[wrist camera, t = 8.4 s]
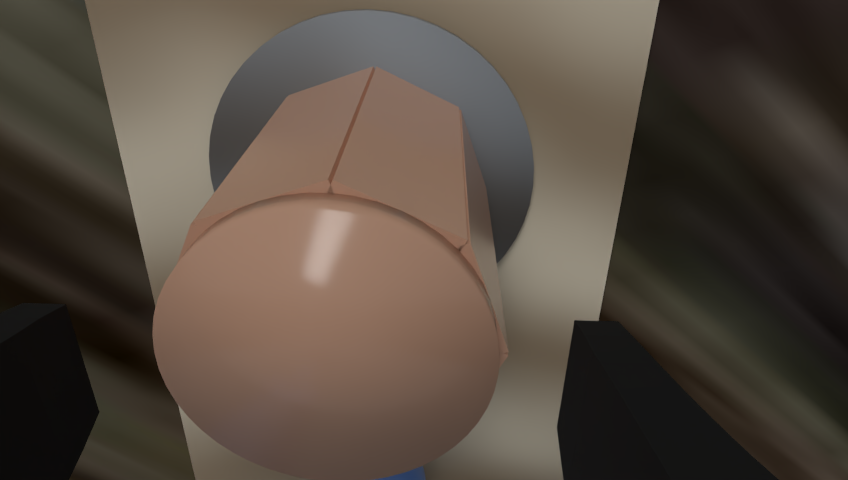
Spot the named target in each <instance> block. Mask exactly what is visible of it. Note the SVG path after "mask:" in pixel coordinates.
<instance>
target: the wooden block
mask: <svg viewBox="0 0 848 480" xmlns="http://www.w3.org/2000/svg"><path fill="white" fill-rule="evenodd" d="M153 344H154V352H155V356H156V360H157V364H158V367H159V370H160V373H161V375H162V377H163V380H164V382H165V384H166V386H167V388H168V390H169V391H170V393H171V395H172V396H173V398H174V399H175V401H176V403H177V404H178V405H179V406H180V408H181V409H182V410H183V411H184V413H185V414H186V415H187V416H188V417H189V418H190V419H191V420H192V421H193V422H194V423H195V424H196V425H197V426H198V427H199V428H200V429H201V430H202V431H203V432H204V433H206V434H207V435H208V436H209V437H211V438H212V439H213V440H215V441H216V442H217V443H219V444H220V445H222V446H223V447H225V448H227V449H228V450H230V451H231V452H233V453H235V454H237V455H239V456H240V457H242V458H244V459H246V460H248V461H250V462H253V463H255V464H258V465H260V466H263V467H265V468H268V469H270V470H274V471H277V472H280V473H284V474H287V475H291V476H296V477H301V478H306V479H313V480H373V479H379V478H385V477H390V476H393V475H397V474H401V473H405V472H407V471H410V470H413V469H415V468H418V467H421V466H423V465H425V464H427V463H429V462H431V461H433V460H435V459H437V458H439V457H440V456H442V455H443V454H445V453H446V452H448V451H449V450H451V449H452V448H453V447H455V446H456V445H457V444H458V443H459V442H460V441H462V440H463V439H464V438H465V437H466V436H467V435H468V434H469V433H470V432H471V430H472V429H473V428H474V427H475V426H476V425H477V423H478V422H479V421H480V419H481V417H482V416H483V414H484V413H485V411H486V410H487V408H488V406H489V403H490V401H491V399H492V396H493V394H494V391H495V387H496V383H497V379H498V374H499V368H500V367H501V365H502V364H503V362H504V361H505V360H506V358H507V357H508V352H509V350H508V343H507V335H506V328H505V321H504V314H503V306H502V299H501V292H500V284H499V277H498V270H497V263H496V255H495V248H494V241H493V233H492V226H491V219H490V212H489V204H488V197H487V190H486V186H485V183H484V179H483V176H482V173H481V170H480V167H479V164H478V161H477V158H476V154H475V151H474V148H473V145H472V142H471V139H470V136H469V133H468V130H467V126H466V123H465V120H464V117H463V114H462V111H461V110H459V107H458V106H456V105H454V104H452V103H450V102H447V101H445V100H443V99H441V98H439V97H437V96H435V95H433V94H431V93H429V92H427V91H425V90H423V89H421V88H419V87H417V86H415V85H413V84H411V83H409V82H407V81H405V80H403V79H401V78H399V77H397V76H395V75H393V74H391V73H389V72H387V71H385V70H383V69H381V68H379V67H377V66H376V68H375V69H374V67H373V66H372V67H369V68H367V69H364V70H361V71H358V72H355V73H352V74H349V75H346V76H343V77H340V78H337V79H334V80H332V81H329V82H326V83H323V84H320V85H317V86H314V87H311V88H308V89H305V90H302V91H299V92H297V93H294V94H291V95H288V97H286V99H285V100H284V101H283V103H282V104H281V105H280V107H279V108H278V109H277V111H276V112H275V113H274V114H273V116H272V117H271V118H270V120H269V121H268V122H267V124H266V125H265V126H264V128H263V129H262V130H261V132H260V133H259V134H258V136H257V137H256V138H255V140H254V141H253V142H252V144H251V145H250V146H249V148H248V149H247V150H246V151H245V153H244V154H243V155H242V157H241V158H240V159H239V161H238V162H237V163H236V165H235V166H234V167H233V169H232V170H231V171H230V173H229V174H228V175H227V177H226V178H225V179H224V181H223V182H222V183H221V185H220V186H219V187H218V189H217V190H216V191H215V192H214V194H213V195H212V196H211V198H210V199H209V200H208V202H207V203H206V204H205V206H204V207H203V208H202V210H201V211H200V212H199V214H198V215H197V216H196V218H195V219H194V220H193V222H192V223H191V225H190V227H189V230H188V233H187V236H186V239H185V242H184V245H183V248H182V250H181V253H180V256H179V259H178V262H177V265H176V266H175V268H174V269H173V271H172V272H171V274H170V275H169V277H168V278H167V280H166V281H165V284H164V286H163V288H162V290H161V293H160V295H159V297H158V300H157V304H156V308H155V313H154V318H153Z"/></svg>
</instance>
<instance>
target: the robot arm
mask: <svg viewBox="0 0 848 480" xmlns="http://www.w3.org/2000/svg"><path fill="white" fill-rule="evenodd" d="M98 414H99V410H98V407H97V403H96V400H95V397H94V394H93V390H92V387H91V384H90V381H89V378H88V374H87V371H86V368H85V365H84V362H83V358H82V355H81V352H80V349H79V345H78V342H77V339H76V336H75V333H74V329H73V326H72V323H71V320H70V317H69V313H68V310H67V307H66V304H34V303H23V304H20V305H18V306H16V307H13V308H11V309H9V310H6V311H4V312H2V313H0V480H69V478H70V476H71V474H72V472H73V470H74V468H75V466H76V463H77V461H78V459H79V457H80V455H81V453H82V451H83V449H84V446H85V444H86V442H87V439H88V437H89V435H90V432H91V430H92V428H93V425H94V423H95V421H96V418H97V416H98ZM557 433H558V441H559V449H560V457H561V465H562V472H563V479H564V480H778V479H777V478H776V477H775V476H774V475H773V474H771V473H770V472H769V471H768V470H767V469H766V468H765V467H764V466H762V465H761V464H760V463H759V462H758V461H757V460H756V459H755V458H753V457H752V456H751V455H750V454H749V453H748V452H747V451H746V450H745V449H744V448H743V447H742V446H741V445H740V444H738V443H737V442H736V441H735V440H734V439H733V438H732V437H731V436H730V435H729V434H728V433H727V432H726V431H725V430H724V429H723V428H722V427H721V426H720V425H719V424H717V423H716V422H715V421H714V420H713V419H712V418H711V417H710V416H709V415H708V414H707V413H706V412H705V411H704V410H703V409H702V408H701V407H700V406H699V405H698V404H697V403H696V402H695V401H694V400H693V399H692V398H691V397H690V396H689V395H688V394H687V393H686V392H685V391H684V390H683V389H682V388H681V387H680V386H679V385H678V384H677V382H676V381H675V380H674V379H673V378H672V377H671V376H670V375H669V374H668V373H667V372H666V371H665V370H664V369H663V368H662V367H661V366H660V365H659V364H658V363H657V362H656V361H655V360H654V358H653V357H652V356H651V355H650V354H649V353H648V352H647V351H646V350H645V349H644V348H643V347H642V346H641V345H640V344H639V343H638V342H637V340H636V339H635V338H634V337H633V336H632V335H631V334H630V333H629V332H628V331H627V330H626V329H625V328H624V327H623V326H622V325H621V324H620V323H619V322H616V321H583V320H574V326H573V332H572V338H571V344H570V350H569V356H568V362H567V368H566V374H565V380H564V387H563V393H562V399H561V405H560V411H559V417H558V423H557Z"/></svg>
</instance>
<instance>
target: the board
mask: <svg viewBox="0 0 848 480" xmlns="http://www.w3.org/2000/svg"><path fill="white" fill-rule="evenodd" d="M85 3H86V7H87V12H88V16H89V20H90V25H91V29H92V33H93V38H94V42H95V46H96V51H97V55H98V59H99V64H100V68H101V72H102V77H103V81H104V85H105V90H106V94H107V98H108V103H109V107H110V111H111V116H112V120H113V124H114V129H115V133H116V137H117V142H118V146H119V150H120V155H121V159H122V163H123V168H124V172H125V176H126V181H127V185H128V189H129V193H130V198H131V202H132V206H133V211H134V215H135V219H136V224H137V228H138V232H139V237H140V241H141V245H142V250H143V254H144V258H145V263H146V267H147V271H148V276H149V280H150V284H151V289H152V293H153V297H154V302H155V306H156V304H157V300H158V297H159V295H160V293H161V290H162V288H163V286H164V284H165V281H166V280H167V278H168V277H169V275H170V274H171V272H172V271H173V269H174V268H175V266H176V265H177V262H178V259H179V256H180V253H181V250H182V248H183V245H184V242H185V239H186V236H187V233H188V230H189V227H190V225H191V223H192V222H193V220H194V219H195V218H196V216H197V215H198V214H199V212H200V211H201V210H202V208H203V207H204V206H205V204H206V203H207V202H208V200H209V199H210V198H211V196H212V195H213V194H214V192H215V191H216V190H217V189H218V187H219V186H220V185H221V183H222V182H223V181H224V179H225V178H226V177H227V175H228V174H229V173H230V171H231V170H232V169H233V167H234V166H235V165H236V163H237V162H238V161H239V159H240V158H241V157H242V155H243V154H244V153H245V151H246V150H247V149H248V148H249V146H250V145H251V144H252V142H253V141H254V140H255V138H256V137H257V136H258V134H259V133H260V132H261V130H262V129H263V128H264V126H265V125H266V124H267V122H268V121H269V120H270V118H271V117H272V116H273V114H274V113H275V112H276V111H277V109H278V108H279V107H280V105H281V104H282V103H283V101H284V100H285V99H286V97H288V95H291V94H294V93H297V92H299V91H302V90H305V89H308V88H311V87H314V86H317V85H320V84H323V83H326V82H329V81H332V80H334V79H337V78H340V77H343V76H346V75H349V74H352V73H355V72H358V71H361V70H364V69H367V68H369V67H372V66H373V67H374V69H375V68H376V66H377V67H379V68H381V69H383V70H385V71H387V72H389V73H391V74H393V75H395V76H397V77H399V78H401V79H403V80H405V81H407V82H409V83H411V84H413V85H415V86H417V87H419V88H421V89H423V90H425V91H427V92H429V93H431V94H433V95H435V96H437V97H439V98H441V99H443V100H445V101H447V102H450V103H452V104H454V105H456V106H458V107H459V110H461V111H462V114H463V117H464V120H465V123H466V126H467V130H468V133H469V136H470V139H471V142H472V145H473V148H474V151H475V154H476V158H477V161H478V164H479V167H480V170H481V173H482V176H483V179H484V183H485V186H486V190H487V197H488V204H489V212H490V219H491V226H492V233H493V241H494V248H495V255H496V263H497V270H498V277H499V284H500V292H501V299H502V306H503V314H504V321H505V328H506V335H507V343H508V350H509V352H508V357H507V358H506V360H505V361H504V362H503V364H502V365H501V367H500V368H499V374H498V379H497V383H496V387H495V391H494V394H493V396H492V399H491V401H490V403H489V406H488V408H487V410H486V411H485V413H484V414H483V416H482V417H481V419H480V421H479V422H478V423H477V425H476V426H475V427H474V428H473V429H472V430H471V432H470V433H469V434H468V435H467V436H466V437H465V438H464V439H463V440H462V441H460V442H459V443H458V444H457V445H456V446H455V447H453V448H452V449H451V450H449V451H448V452H446V453H445V454H443V455H442V456H440V457H439V458H437V459H435V460H433V461H431V462H429V463H427V464H425V465H423V468H424V472H425V477H426V480H564V479H563V472H562V465H561V457H560V449H559V441H558V433H557V423H558V417H559V411H560V405H561V399H562V393H563V387H564V380H565V374H566V368H567V362H568V356H569V350H570V344H571V338H572V332H573V326H574V320H583V321H598V320H599V315H600V309H601V304H602V299H603V294H604V288H605V283H606V278H607V273H608V267H609V262H610V257H611V251H612V246H613V241H614V236H615V230H616V225H617V220H618V215H619V209H620V204H621V199H622V194H623V188H624V183H625V178H626V172H627V167H628V162H629V157H630V151H631V146H632V141H633V136H634V130H635V125H636V120H637V115H638V109H639V104H640V99H641V93H642V88H643V83H644V78H645V72H646V67H647V62H648V57H649V51H650V46H651V41H652V36H653V30H654V25H655V20H656V14H657V9H658V4H659V0H85ZM179 410H180V414H181V418H182V423H183V427H184V431H185V436H186V440H187V444H188V449H189V453H190V457H191V462H192V466H193V470H194V475H195V479H196V480H313V479H306V478H301V477H296V476H291V475H287V474H284V473H280V472H277V471H274V470H270V469H268V468H265V467H263V466H260V465H258V464H255V463H253V462H250V461H248V460H246V459H244V458H242V457H240V456H239V455H237V454H235V453H233V452H231V451H230V450H228V449H227V448H225V447H223V446H222V445H220V444H219V443H217V442H216V441H215V440H213V439H212V438H211V437H209V436H208V435H207V434H206V433H204V432H203V431H202V430H201V429H200V428H199V427H198V426H197V425H196V424H195V423H194V422H193V421H192V420H191V419H190V418H189V417H188V416H187V415H186V414H185V413H184V411H183V410H182V409H181V408H180V406H179Z"/></svg>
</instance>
